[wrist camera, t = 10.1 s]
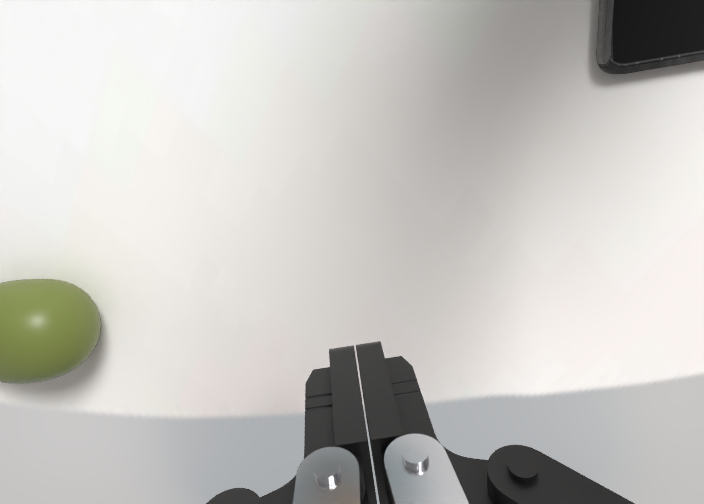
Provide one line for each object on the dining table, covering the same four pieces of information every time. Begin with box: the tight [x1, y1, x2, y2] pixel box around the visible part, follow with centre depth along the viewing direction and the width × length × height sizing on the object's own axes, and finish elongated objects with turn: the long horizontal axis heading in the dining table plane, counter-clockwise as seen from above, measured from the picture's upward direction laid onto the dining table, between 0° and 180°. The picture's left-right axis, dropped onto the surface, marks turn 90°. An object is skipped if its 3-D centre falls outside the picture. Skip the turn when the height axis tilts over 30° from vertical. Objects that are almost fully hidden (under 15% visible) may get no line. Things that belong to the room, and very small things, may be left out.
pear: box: [0, 279, 101, 383], centre depth 25 cm, size 6×5×10 cm
